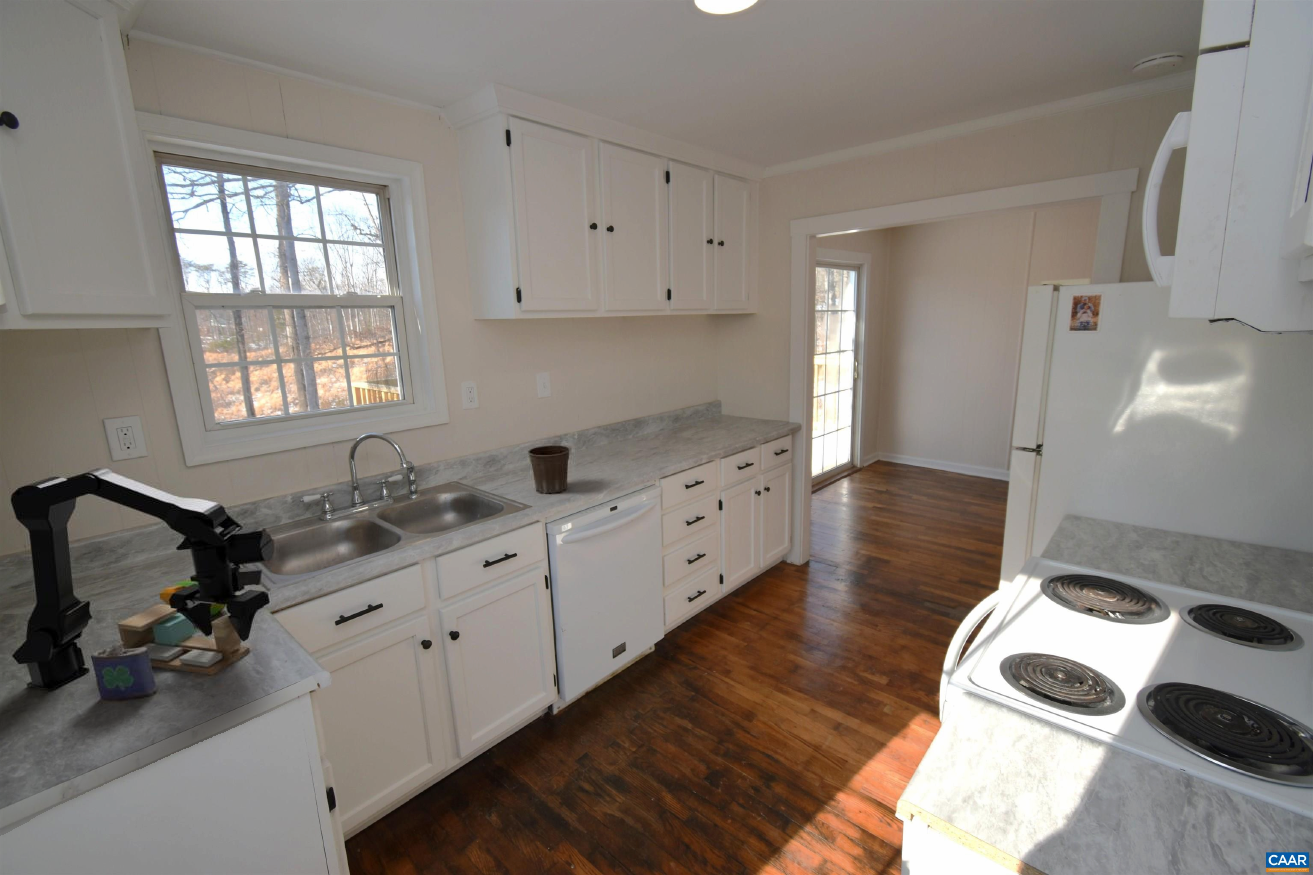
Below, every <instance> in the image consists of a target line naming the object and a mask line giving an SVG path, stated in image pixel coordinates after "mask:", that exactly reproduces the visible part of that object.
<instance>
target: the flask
mask: <svg viewBox="0 0 1313 875" xmlns="http://www.w3.org/2000/svg"><path fill="white" fill-rule="evenodd" d="M123 644H124V642H122V641H121V640H120V641H118V643H112V644H111V645H108V648H107V647H104V648H103V649H100V650H98V651H95V652H94V653H92V654H91V655H90V659H91V662H92V666H93V671H94V675H95V678H96V684H97V687H98V688H97V689H98V692H99V697H100V698H99V699H100V701H103V702H118V701H125V700H126V701H127V700H134V699H135V700H136V699H141V698H143V699H144V698H145V697H151V696H152V695H155V693H156V692H157V691H158V687H157V683H156V679H155V675H154V671H153V669H152V667H153V666H151V662H150V658H149V651H148V649H147V647H141V648H135V649H123Z"/></svg>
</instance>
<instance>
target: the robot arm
mask: <svg viewBox="0 0 1313 875" xmlns="http://www.w3.org/2000/svg"><path fill="white" fill-rule="evenodd" d="M87 495H93V496H96V497H99V498H101V499H104V500H107V501H109V502H113V503H115V504H117V505H120V506H123V507H126V508H129V509H132V510H134V511H138V512H140V513H142V514H145V515H149V516H151V517H154V518H157V519H159V520H161V521H163V522H164V523H165V524H166V525H167V526H168V527H169V528H170V529H171V530H172V531H174V532H176V533H178V534H179V535H182V536H184V538H183V540H182V542H181V543H179V544H178V545H177V546H176V547H175V550H176V551H186V550H189V551H190V553H191V554H190V555H191V558H192V564H193V569H194V573H195V574H192V575H191V576H189V578H190V581H193V582H197V584H192V585H190V586H188V587H186V588H184V589H181V590H179V591H177V592H175V593H173V594H172V596H171V597H170V599H169V602H170V607H171V608H174V609H176V611H177V612H179V613H181V614H182V615H183V616H184V617H186V618H187V619H188V620H189V621H190V622H191V623H192V624H193V626H195V627H196V628H197V629H198V630H199V632H201V633H202V634H203V635H204V636H205V637H209V636H211V635H212V634H213V628H212V624H211V622H213V621H212V620H213V619H212V615H211V610H210V608H211V605H212V604H225V605H226V607H225V608H226V612H227V613H228V615H230V616H228V619H229V620H230V622H231V624H232V625H233V627H234V629H235V631H236V632H237V634H238V636H239V637H240V639H241V642H246V641H247V640H249V638H250V633H251V629H252V625H253V623H254V618H255V616H256V613H257V612H258V611H259V610H262V609H263V608H264V607H265V606H267V605H268V604H270V602H271V601H270V595H269V593H268V592H266V591H265V590H256V589H249V590H246V591H244V592H243V593H241V594H236V593H237V592H241V591H243V590H245V588H246V587H247V586H253V585H254V586H260V585H261V580H262V573H263V569H260V568H252V567H251V568H249V567H246V568H245V567H241V565H247V564H259V563H268V562H271V560H272V559H273V556H274V553H275V541H274V539H273V538H272V536H271V534H270V533H268V532H267V528H266V527H258V528H254V529H246V530H243V529H244V526H242V525H241V524H240V523H239V522H238V521H236V520H235V519H234V518H233V517H232V516H230V515H229V514H228V513H227V511H226V510H225V506H223V505H222V504H221V503H219V502H214V501H211V500H206V499H202V498H194V497H193V498H191V497H181V496H176V495H173V494H170V493H169V492H165V491H164V490H161V489H157V488H155V487H152V486H149V485H147V484H145V483H141V482H139V481H136V480H134V479H131V478H128V477H125V476H122V475H120V474H118V473H114V472H113V470H111V469H108V468H105V467H104V468H103V467H98V468H94V469H92V470H89V471H86V472H84V473H80V474H76V475H73V476H70V477H66V478H64V477H61V476H49V477H47V478H44V479H41V480H38V481H35V482H32V483H29V484H25V485H22V486H20V487H18V488H17V489H16V490H15V491H13V492H12V494H11V496H10V504H11V507H12V510H13V512H14V516H15V518H16V519H15V520H17V521H18V522H19V523H20V524H21V525H22V526H24V528H26V530H27V531H28V535H29V536H28V537H29V543H30V553H31V554H30V555H31V564H32V573H33V581H34V583H33V584H34V592H35V600H36V601H35V602H36V603H35V606H34V608H33V610H32V612H31V614H30V616H29V619H28V620H27V625H26V631H25V632H26V633H25V639H26V640H24V641H23V643H22V644H21V645H20V646H19V647H18V648H17V649H16V650H15V652H14V653H12V655H11V656H12V659H14V660H15V662H16V664H19V665H25V664H26V667H27V670H28V673H29V677H30V681H29V682H27V683H26V687H28V688H32V689H33V688H34V689H40V690H45V691H53V690H55V689H57V688H59V687H61V686H63V685H64V684H66V683H69V682H70V681H74V680H75V679H76V678H79V677H81V676H82V675H85V674H87V673H88V672H89V671H91V669H90V668H89V667H85V666H86V660H85V658H84V653H83V650H82V647H81V646H78V643H77V640H78V639H80V638H81V637H82V636H83V630H84V629H85V628H87V626H88V625H89V621H90V620H92V619H93V616H92V613H91V611H90V608H91V601H90V600H88V599H87V600H81V599H79V598H78V596H76V595H75V594H74V586H73V585H74V584H73V577H72V565H71V564H72V563H71V555H70V554H71V553H70V543H69V532H68V523H69V521H70V519H71V517H72V515H73V513H74V511H75V509H76V504H77V498H80V497H83V496H87ZM218 529H222V530H221V531H219V532H217V530H218Z"/></svg>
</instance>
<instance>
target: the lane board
mask: <svg viewBox="0 0 1313 875" xmlns="http://www.w3.org/2000/svg"><path fill="white" fill-rule="evenodd" d="M178 613H179V612H177V611H176V609H174V608H171V607H170V605H168V604H161V603H160V604H157V605H155V606H153V607H150V608H148V609H145V610H144V611H142V612H139V613H137V614H135V615H133V616H131V617H129V618H126V619H124V620H122V621H120V622H118V623H117V628H118V632H119V636H120V641H121V642H124V644H123V645H122V647H123V648H122V650H123V649H135V648H140V647H142V646H144V645H146V644H148V643H151V644H156V643H154V640H155V636H154V631H153V627H152V626H153V625H155V624H157V623H159V622H161V621H163V620H165V619H167V618H169V617H172V616H174V615H176V614H178ZM158 645H163V644H158ZM165 646H170V645H165ZM172 647H177V646H172ZM179 648H183V653H181V654H180V655H178V656H176V657H174V658H172V659H171V660H169V661H165V660H159V659H152V658H150V662H151V667H156V668H163V669H169V670H170V669H171V670H175V671H176V670H177V671H184V672H189V673H195V674H201V675H202V674H203V675H208V676H214V675H216V674H217V673H218V672H221V671H222V670H224V669H225V668H227V667H228V666H230V665H231V664H233V663H235V662H236V661H238V660H240V659H241V658H242V657H244V656H246V655H248V654H250V652H251V650H250V647H248V646H241V647H240V648H238V649H236V650H235V651H233V652H232V653H230V654H227V653H222V659H220V660H218V661H217V662H215V663H213V664H212V665H210V666H208V667H206V666H199V665H192V664H185V663H180V661H179V658H180V657H182V656H184V655H185V654H187V653H189V652H191V651H192V650H198V649H191V648H184V647H179ZM200 651H205V650H200ZM208 652H213V651H208ZM215 653H220V652H215Z"/></svg>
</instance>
